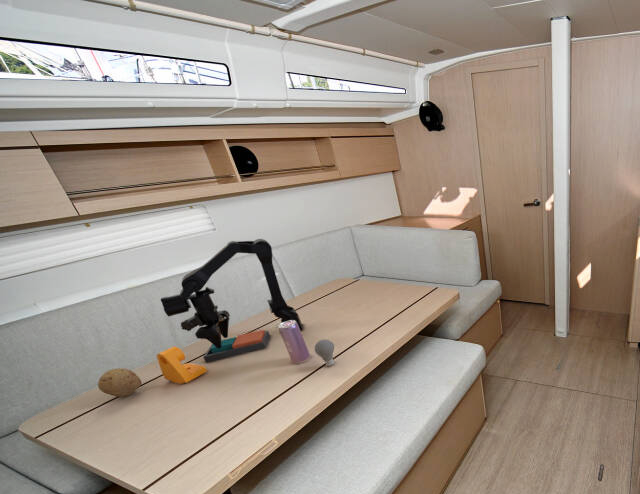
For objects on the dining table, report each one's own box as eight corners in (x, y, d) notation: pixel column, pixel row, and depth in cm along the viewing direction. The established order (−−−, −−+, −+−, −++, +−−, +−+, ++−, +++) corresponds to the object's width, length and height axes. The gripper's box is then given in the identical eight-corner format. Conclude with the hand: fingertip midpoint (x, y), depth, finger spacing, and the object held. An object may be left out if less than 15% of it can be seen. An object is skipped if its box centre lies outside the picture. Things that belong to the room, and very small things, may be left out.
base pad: (267, 336, 148) (264, 329, 146) (263, 346, 140) (260, 339, 138) (240, 342, 144) (237, 335, 143) (235, 352, 136) (231, 345, 135)
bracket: (209, 372, 126) (193, 343, 121) (187, 384, 120) (170, 355, 115) (188, 369, 129) (172, 341, 124) (166, 381, 123) (148, 352, 118)
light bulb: (321, 371, 121) (312, 347, 116) (321, 363, 126) (312, 339, 121) (340, 366, 123) (331, 341, 119) (339, 358, 128) (330, 334, 124)
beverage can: (314, 356, 130) (300, 321, 124) (299, 365, 125) (284, 328, 119) (303, 353, 133) (289, 318, 126) (288, 362, 128) (273, 326, 121)
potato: (106, 398, 117) (88, 373, 112) (141, 383, 123) (126, 359, 119) (112, 407, 112) (93, 381, 107) (148, 391, 118) (132, 366, 114)
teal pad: (239, 344, 143) (235, 336, 141) (235, 351, 138) (231, 343, 136) (218, 349, 140) (214, 341, 139) (214, 356, 135) (210, 348, 134)
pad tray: (270, 335, 149) (268, 330, 148) (265, 348, 139) (263, 342, 138) (215, 348, 142) (212, 343, 141) (206, 362, 133) (203, 357, 131)
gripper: (187, 303, 136) (205, 338, 142) (167, 322, 120) (189, 360, 127) (221, 296, 140) (237, 330, 146) (207, 314, 124) (225, 351, 131)
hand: (222, 342), depth 137 cm, fingers open, 9 cm apart
